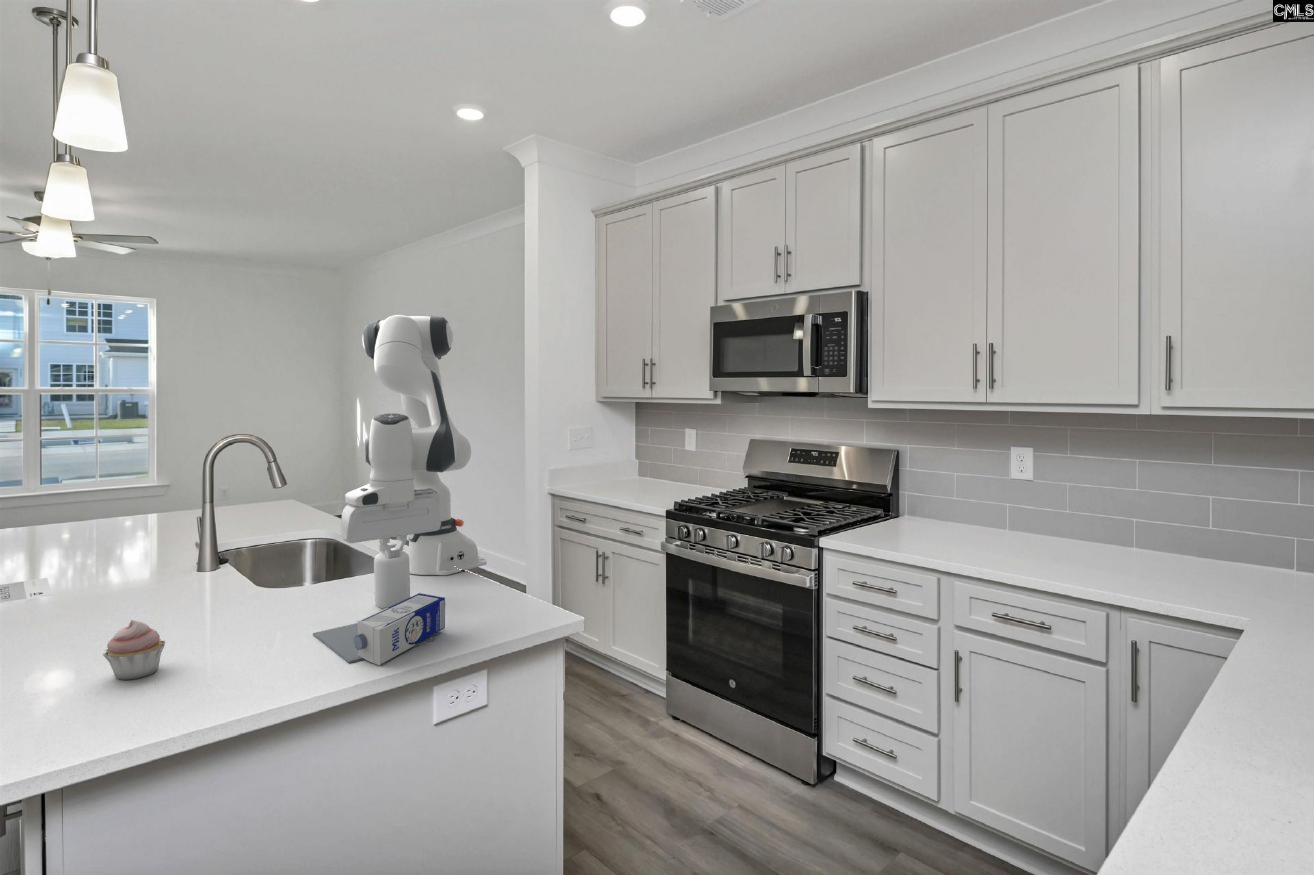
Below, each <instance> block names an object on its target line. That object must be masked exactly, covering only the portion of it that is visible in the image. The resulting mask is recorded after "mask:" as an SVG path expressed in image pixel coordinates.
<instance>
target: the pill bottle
mask: <svg viewBox="0 0 1314 875" xmlns="http://www.w3.org/2000/svg"><path fill="white" fill-rule="evenodd" d="M398 541H399V540H397V539H390V543H387V544H388V546H389V547H390V549H391V548H395V547H396V545H397V543H398ZM378 550H379V553H378V554H376V555H375V556H374V559H373V576H374V578H373V580H374V604H375V606H376V607H377V608H381V609H386V608H388V607H390V606H392V605H395V604H397V603H399V602H401V601H403V600H405V599H408V598H410V597H411V573H410V560H409V555H408V552H406V551H404V547H403V548H402V556H401V557H397V558H391V559H387V558H385V550H384V549H383V547H382V546H381V544H380V543H378Z"/></svg>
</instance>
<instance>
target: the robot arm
mask: <svg viewBox="0 0 1314 875" xmlns="http://www.w3.org/2000/svg"><path fill="white" fill-rule="evenodd" d="M451 327H452V326H451V325H450V324H449V322H448V320H447V319H446V318H445V317H444V316H441V315H440V316H438V315H430V316H423V315H417V316H416V315H411V316H410V315H409V316H407V315H403V314H394V315H390V316H389V317H386V318H385V319H384V320H381V319H377V320H372V321H370V322H368V323H367V324H366V325H365V326H364V328H363V332H362V338H361V339H362V340H361V341H362V342H361V343H362V346H363V348H364V351H365V352H366V355H367V357H369V358H370V359H371V360H372V361H373V362H374V364H373V365H374V372H375V376H376V379H378V380H379V382H380V383H381V384H382V385H383V386H384V387H386V388H387V389H389V390H391V391H392V392H395V393H398V394H399V395H400V402H401V410H402V412H403V413H404V414H401V413H383V414H379V415H378V414H377V415H375V416H374V417H373V418H372V419H371V422H370V428H369V436H368V437H367V438H366V439H365V442H364V445H365V446H364V447H365V463H367V464H368V465H369V466H370V472H369V476H368V482H369V483H367V484H365V485H363V486H361V487H358V488H355V489H352V490H351V491H348V492H346V494H344V501H345V502H346V503H347V504H346V505H345V506H344V508H343V510H342V514H341V521H340V537H341V539H342V540H343V541H345V542H346V543H348V544H355V543H362V542H369V541H377V540H378V542H379V543H380V544H381V546H382V547H383V549H384V550H385V558H387V559H391V558H397V557H401V556H402V548H403V549H404V547H405V545H406V543H407V540H408V550H407V554H408V555H409V560H410V575H411V574H412V575H418V576H419V575H421V576H423V575H424V576H426V575H427V576H428V575H429V576H430V575H432V576H433V575H434V576H448V575H452V574H456V573H460V572H461V571H460V570H459V569H462V570H464V571H467V570H471V569H475V568H478V567H483V566H486V565H487V559H486V558H485V557H483V556H481V555H479V552H478V547H477V544H476V542H475V541H474V540H473V539H472V538H470V537H468V536H467V535H465V534H464V533H462V532H461V531H460V530H458V527H459V528H461V527H464V525H465V521H464V520H463V519H460V518H454V517H452V509H451V508H452V505H451V502H452V501H451V498H452V496H451V495H452V494H451V491H450V488H449V487H448V486H447V485H446V484H445V483H444V482H443V481H442V480H441V478H440V476H439V474H438V473H444V472H445V473H447V472H453V471H458V470H462V469H464V468H465V467H466V466H467V465H468V464H469V461H470V460H471V457H472V447H471V444H470V441H469V440H468V439H467V437H465V435H463V434H462V433H461V432H460V431H459V430H458V429H457V427H456V426H455V424H454V423H453V421H452V419H451V417H450V414H449V412H448V410H447V407H446V402H445V396H444V391H443V390H444V389H443V384H442V377H441V371H440V366H439V362H438V361H439V360H441V359H442V357H444V356H446V355H447V354H448V353H449V352H450V351H451V349H452V345H453V343H454V342H453V341H454V333H453V330H452V328H451ZM411 421H412V422H413V424H414V425H415V426H416V427H412V422H411ZM391 538H396V539H395V540H399V541H398V543H397V545H396V547H395V548H391V549H390V547H389V546H388V544H387V543H390V540H391ZM379 543H378V544H379ZM454 566H456V567H454ZM457 568H458V569H457Z"/></svg>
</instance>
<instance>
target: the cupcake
mask: <svg viewBox="0 0 1314 875" xmlns="http://www.w3.org/2000/svg"><path fill="white" fill-rule="evenodd" d="M161 639H162V638H160V633H159V632H158V631H157V630H155V629H154V628H151V627H150V626H148V624H147V623H145V622H142V621H139V620H134V619H131V620H130V622H129V624H128V626H125V627H123V628H121V629H119V630H118V631H117V632H116V633H115V634H114V635H113V637H112V638H111V639H110V640H109V641H108V642H107V646H106V648H107V649H104V651H105V652H104V653H103V654H102V656H103V657H104V658H105V660H107V662H108V663H109V665H110V667H111V670H112V672H113V675H114V677H115V678H116V679H117V680H123V681H125V680H135V679H140V678H144V677H147V676H150V675H153V674H155V672H156V671H157V670H158V669H159V667H160V662H161V656H162V653H163V650H164V649H165V645H166V643H167V641H166V640H161Z"/></svg>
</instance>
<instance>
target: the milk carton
mask: <svg viewBox="0 0 1314 875" xmlns="http://www.w3.org/2000/svg"><path fill="white" fill-rule="evenodd" d="M357 623H358V635H356V636H355V637H354V643H355V647H356V649H358V656H360V657H362V658H364V660H366V661H368V662H370V663H371V664H375V665H377V666H381V665H382V664H384V663H386V662H387V661H390V660H391V659H392V658H395V657H396V656H398V655H400V654H402V653H403V652H406V651H407V650H408V649H410V648H413V646H414V645H416V644H418V643H420V642H421V641H423V640H425V639H427V638H429V637H430V638H431V637H432V636H434V635H436V634H437V633H439V632H441V631H443V630H445V628H446V597H443V596H439V595H438V596H437V595H431V594H425V593H421V592H419V593H416V594H413V595H412V596H410V598H408V599H405V600H403V601H401V602H399V603H397V604H395V605H392V606H390V607H388V608H383V609H382V610H380V611H378V612H375V613H373V614H371V615H369V616H367V617H365V618H362V619H360V620H357ZM414 647H415V646H414Z"/></svg>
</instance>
